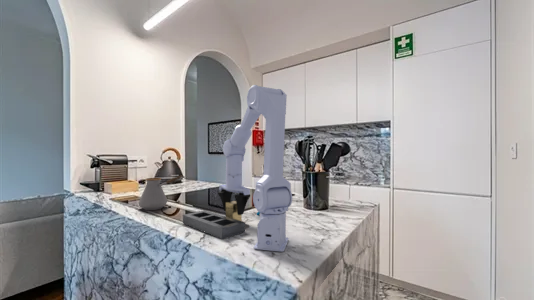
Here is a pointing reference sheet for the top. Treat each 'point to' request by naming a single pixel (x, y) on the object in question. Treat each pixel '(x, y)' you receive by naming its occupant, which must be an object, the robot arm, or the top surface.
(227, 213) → the tan rectangular block
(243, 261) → the top surface
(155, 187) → the coffee pot
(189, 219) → the grey compartment tray
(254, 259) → the top surface
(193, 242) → the top surface
